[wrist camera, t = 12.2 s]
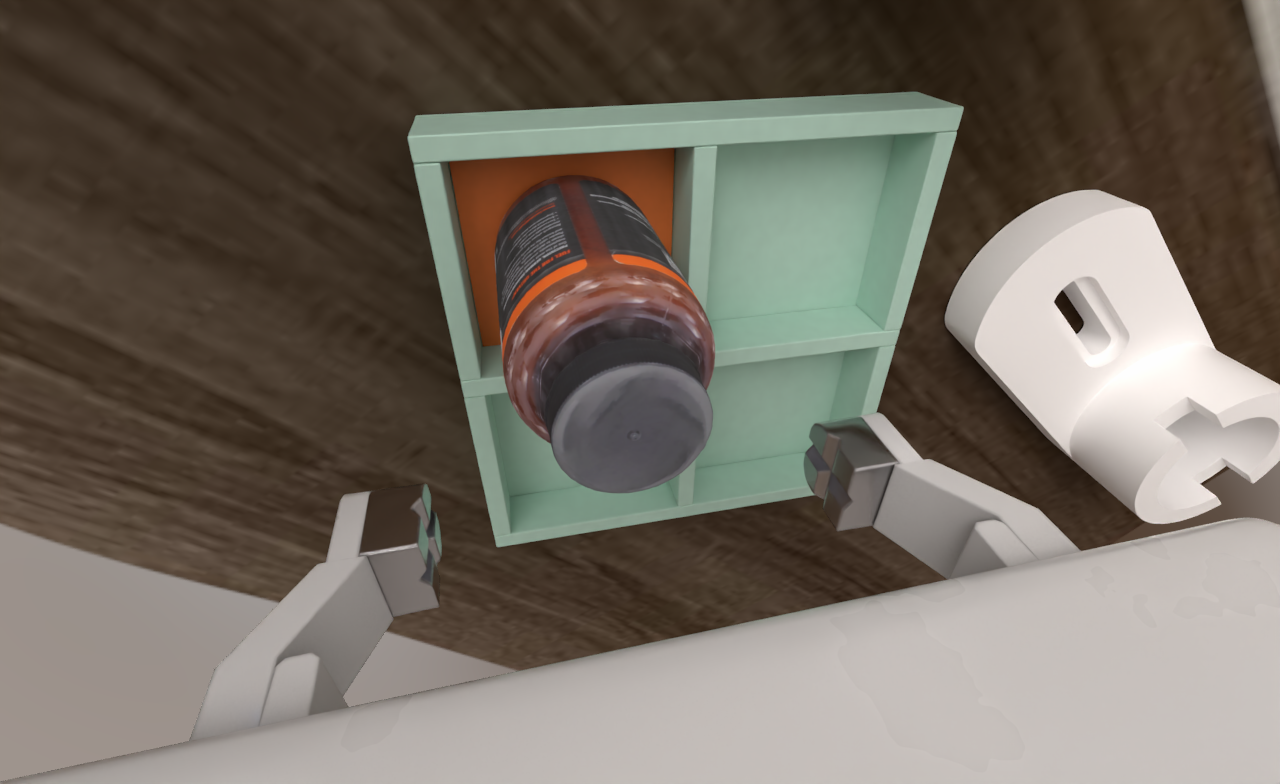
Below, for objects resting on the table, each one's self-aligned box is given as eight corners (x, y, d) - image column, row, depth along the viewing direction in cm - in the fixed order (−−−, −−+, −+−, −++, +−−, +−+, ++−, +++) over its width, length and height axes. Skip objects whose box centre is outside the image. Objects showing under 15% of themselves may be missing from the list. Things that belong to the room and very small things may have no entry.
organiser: (415, 115, 20) (406, 136, 18) (916, 91, 23) (965, 106, 21) (495, 503, 31) (496, 548, 29) (829, 452, 34) (854, 489, 32)
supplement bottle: (476, 296, 23) (473, 508, 15) (519, 144, 21) (549, 292, 12) (617, 332, 26) (689, 535, 17) (673, 200, 23) (797, 359, 14)
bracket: (1198, 370, 37) (1319, 441, 31) (1070, 463, 39) (1161, 543, 34) (1084, 153, 26) (1237, 204, 21) (922, 301, 29) (1020, 378, 24)
